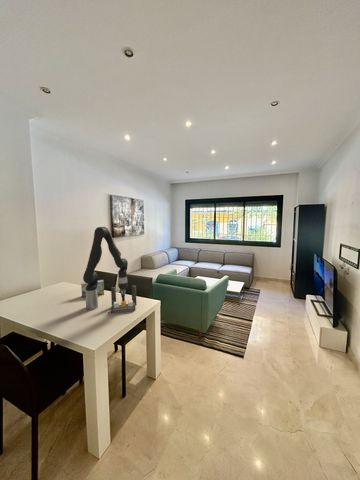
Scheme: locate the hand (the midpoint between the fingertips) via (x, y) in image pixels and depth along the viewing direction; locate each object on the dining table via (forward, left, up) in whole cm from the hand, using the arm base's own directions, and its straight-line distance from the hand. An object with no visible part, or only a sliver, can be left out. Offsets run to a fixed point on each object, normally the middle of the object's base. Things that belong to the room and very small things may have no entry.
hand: (123, 300), depth 171 cm
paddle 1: (-6, 0, -4) cm, 8 cm away
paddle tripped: (0, 0, -4) cm, 4 cm away
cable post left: (-9, +9, -8) cm, 15 cm away
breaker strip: (0, 0, -8) cm, 8 cm away
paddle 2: (+6, 0, -4) cm, 8 cm away
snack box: (-33, +42, -9) cm, 54 cm away
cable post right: (+9, +9, -8) cm, 15 cm away
